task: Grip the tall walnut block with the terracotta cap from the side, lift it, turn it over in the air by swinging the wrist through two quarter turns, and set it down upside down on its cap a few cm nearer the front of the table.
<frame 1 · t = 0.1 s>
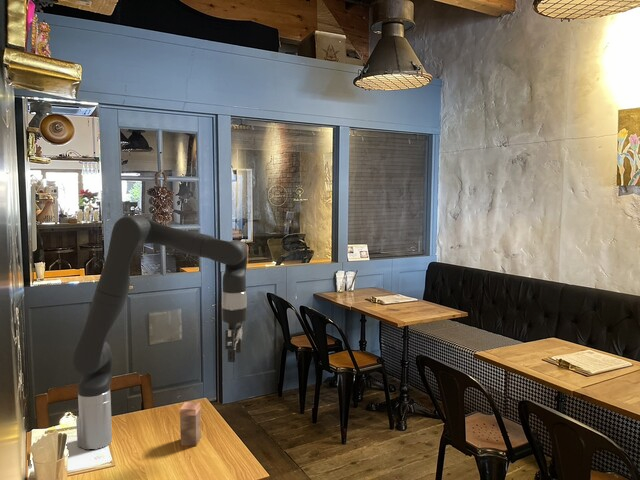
hand: (234, 356, 150), 29 cm above the table, tool pointing down, fingers open, 8 cm apart
walnut block: (191, 441, 155), on the table
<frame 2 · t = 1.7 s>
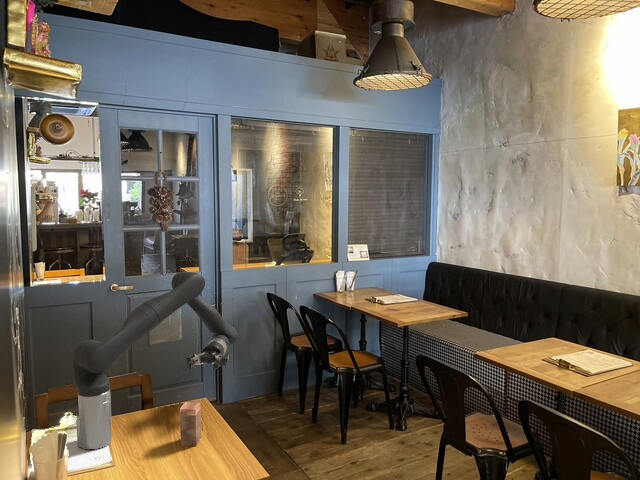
hand: (202, 366, 167), 20 cm above the table, tool horizontal, fingers open, 8 cm apart
nothing on the table moved.
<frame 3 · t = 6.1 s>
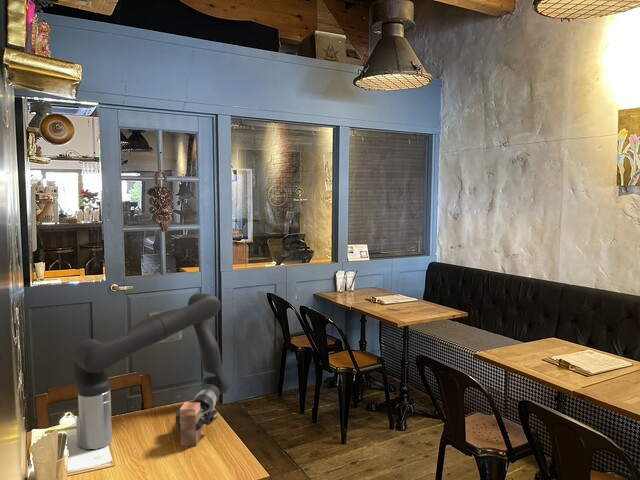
hand: (188, 427, 152), 6 cm above the table, tool horizontal, fingers closed on walnut block, 5 cm apart
walnut block: (190, 441, 155), on the table, touching gripper
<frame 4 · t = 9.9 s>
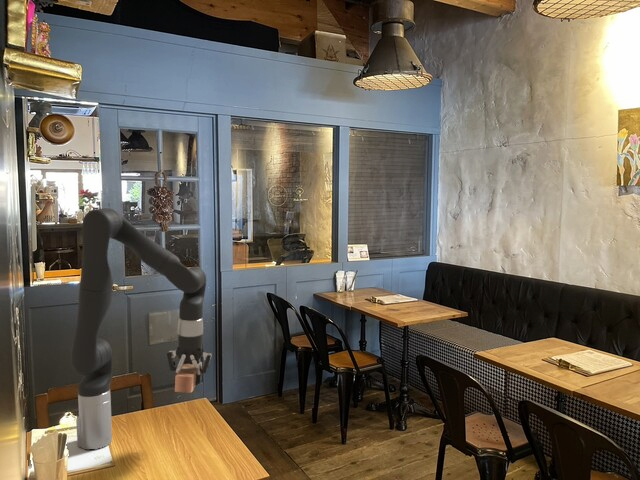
hand: (188, 383, 152), 20 cm above the table, tool pointing down, fingers closed on walnut block, 5 cm apart
walnut block: (194, 368, 158), point 22 cm above the table, tilted 92°, touching gripper
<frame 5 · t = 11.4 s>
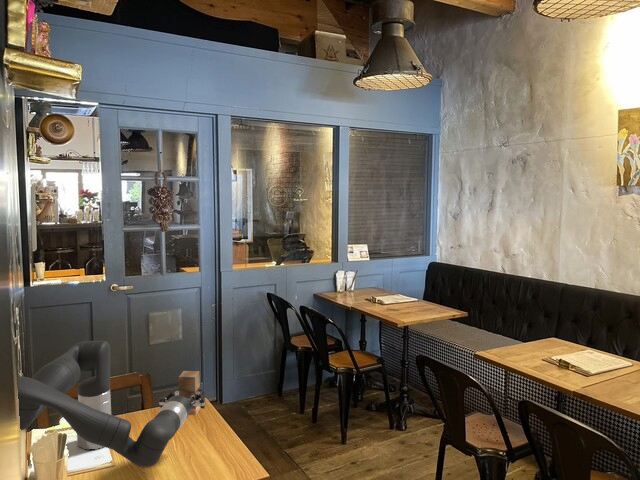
hand: (191, 390, 152), 18 cm above the table, tool horizontal, fingers closed on walnut block, 5 cm apart
walnut block: (189, 374, 150), point 24 cm above the table, tilted 179°, touching gripper
when the fingers open (7 cm above the table, at t = 13.8 s): walnut block drops 1 cm, point 12 cm above the table.
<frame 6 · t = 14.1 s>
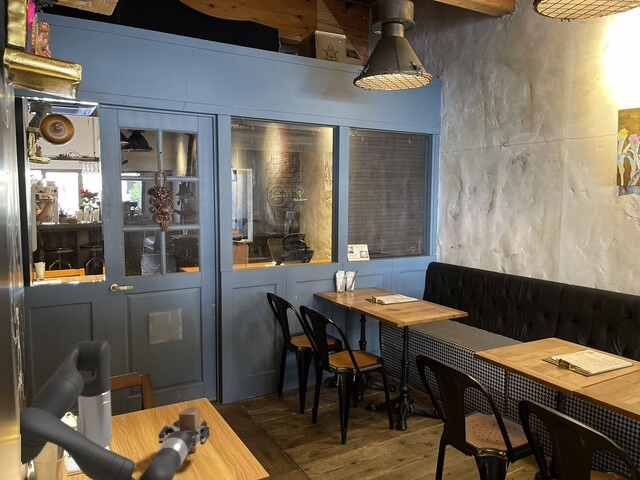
hand: (191, 423, 153), 7 cm above the table, tool horizontal, fingers open, 8 cm apart
walnut block: (189, 410, 151), point 12 cm above the table, tilted 180°
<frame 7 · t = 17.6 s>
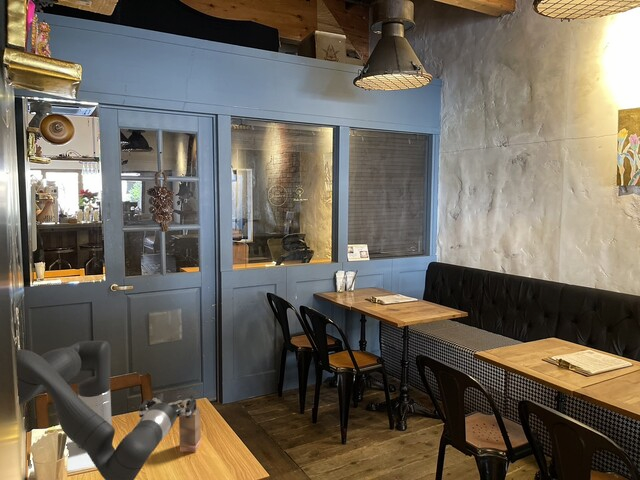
hand: (176, 396, 138), 22 cm above the table, tool horizontal, fingers open, 8 cm apart
nothing on the table moved.
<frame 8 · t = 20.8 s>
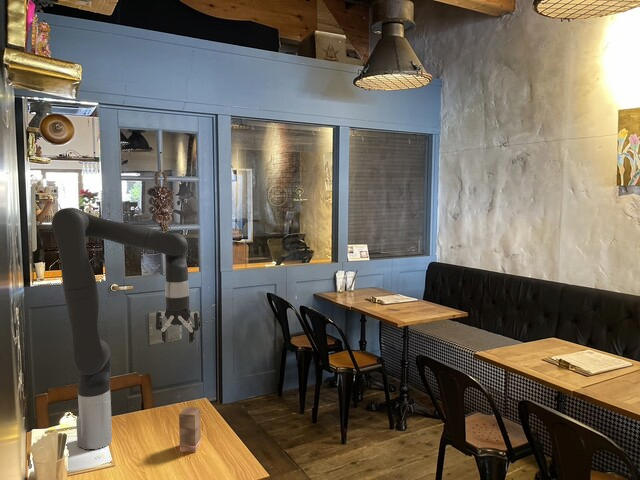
hand: (178, 342, 161), 30 cm above the table, tool pointing down, fingers open, 8 cm apart
nothing on the table moved.
at the end: walnut block tilted 180°; walnut block inside the target area (0.5 cm from its centre), point 12.0 cm above the table; the gripper is holding nothing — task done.
